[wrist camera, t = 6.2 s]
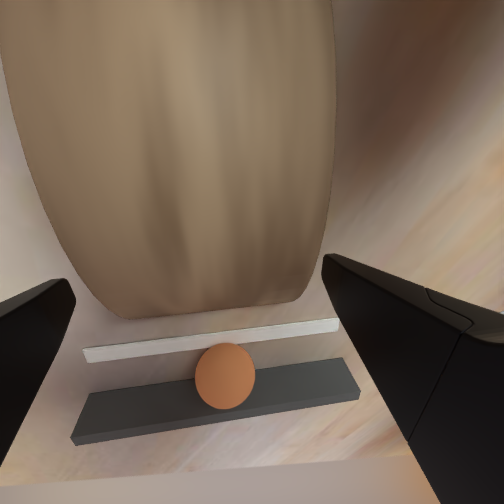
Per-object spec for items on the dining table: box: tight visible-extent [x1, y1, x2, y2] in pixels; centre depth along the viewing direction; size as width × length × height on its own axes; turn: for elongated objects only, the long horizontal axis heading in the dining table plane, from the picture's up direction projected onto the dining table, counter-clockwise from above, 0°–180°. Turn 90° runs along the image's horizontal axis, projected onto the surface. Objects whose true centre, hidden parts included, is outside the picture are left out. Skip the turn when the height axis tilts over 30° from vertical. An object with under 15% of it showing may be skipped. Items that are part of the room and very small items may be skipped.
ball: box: [195, 343, 255, 409], centre depth 17 cm, size 4×4×4 cm
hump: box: [0, 0, 336, 319], centre depth 19 cm, size 10×22×22 cm, turn 2°
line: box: [82, 318, 340, 363], centre depth 18 cm, size 18×1×1 cm, turn 92°
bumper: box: [70, 358, 361, 446], centre depth 19 cm, size 20×1×3 cm, turn 92°
